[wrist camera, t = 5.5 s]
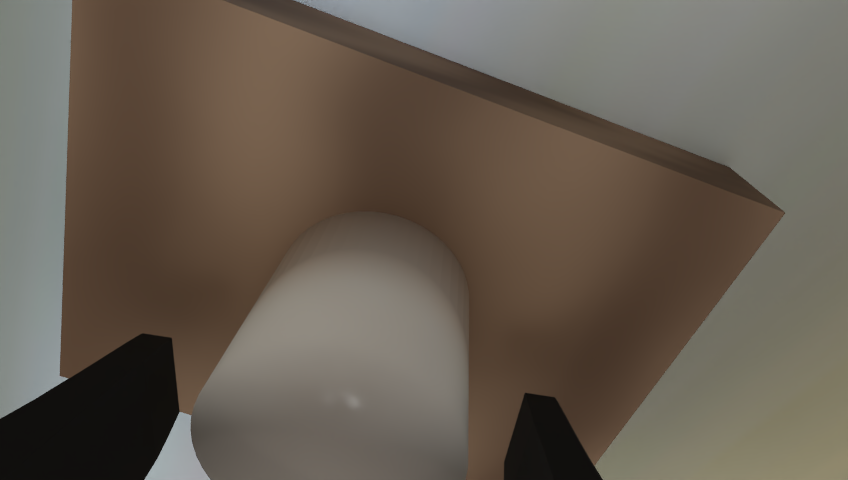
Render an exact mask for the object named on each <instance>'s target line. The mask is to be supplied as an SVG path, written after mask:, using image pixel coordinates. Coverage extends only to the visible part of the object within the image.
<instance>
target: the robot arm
mask: <svg viewBox="0 0 848 480" xmlns="http://www.w3.org/2000/svg"><path fill="white" fill-rule="evenodd" d="M179 412H180V411H179V401H178V392H177V382H176V372H175V363H174V353H173V343H172V338H170V337H164V336H158V335H151V334H145V333H142V334H140V335H138V336H137V337H135V338H133V339H131V340H130V341H128V342H126V343H125V344H123V345H122V346H120V347H118V348H117V349H115V350H114V351H112V352H110V353H109V354H107V355H106V356H104V357H103V358H101V359H99V360H98V361H96V362H95V363H93V364H91V365H90V366H88V367H87V368H85V369H84V370H82V371H80V372H79V373H77V374H75V375H74V376H72V377H71V378H69V379H67V380H66V381H64V382H62V383H61V384H59V385H58V386H56V387H54V388H53V389H51V390H49V391H48V392H46V393H44V394H43V395H41V396H40V397H38V398H36V399H35V400H33V401H31V402H29V403H28V404H26V405H24V406H22V407H20V408H19V409H17V410H15V411H13V412H12V413H10V414H8V415H6V416H5V417H3V418H1V419H0V480H144V479H145V477H146V476H147V474H148V473H149V471H150V469H151V468H152V466H153V465H154V463H155V461H156V460H157V458H158V456H159V454H160V452H161V450H162V448H163V446H164V444H165V442H166V440H167V438H168V436H169V434H170V431H171V429H172V427H173V425H174V423H175V421H176V418H177V416H178V414H179ZM504 480H603V479H602V478H601V476H600V475H599V473H598V471H597V470H596V468H595V466H594V465H593V463H592V461H591V460H590V458H589V456H588V455H587V453H586V451H585V449H584V448H583V446H582V444H581V442H580V441H579V439H578V437H577V435H576V433H575V432H574V430H573V428H572V426H571V424H570V423H569V421H568V419H567V417H566V415H565V413H564V412H563V410H562V408H561V406H560V404H559V402H558V401H557V400H556V398H555V397H550V396H544V395H537V394H531V393H525V394H524V397H523V401H522V404H521V407H520V411H519V414H518V417H517V420H516V424H515V427H514V430H513V434H512V437H511V440H510V444H509V447H508V450H507V454H506V457H505V460H504Z"/></svg>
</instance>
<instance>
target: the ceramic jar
mask: <svg viewBox="0 0 848 480" xmlns="http://www.w3.org/2000/svg"><path fill="white" fill-rule="evenodd" d="M468 407H469V290H468V284H467V280H466V277H465V274H464V272H463V270H462V267H461V265H460V263H459V262H458V260H457V259H456V257H455V256H454V254H453V253H452V252H451V250H450V249H449V248H448V247H447V246H446V245H445V244H444V243H443V242H442V241H441V240H440V239H439V238H438V237H436V236H435V235H434V234H433V233H431V232H430V231H428V230H427V229H425V228H424V227H422V226H420V225H418V224H416V223H414V222H412V221H410V220H407V219H404V218H401V217H399V216H395V215H391V214H386V213H380V212H351V213H344V214H340V215H336V216H332V217H330V218H327V219H325V220H322V221H320V222H318V223H317V224H315V225H313V226H311V227H310V228H308V229H307V230H306V231H305V232H303V233H302V234H301V235H300V236H299V237H298V238H297V239H296V240H295V241H294V242H293V244H292V245H291V247H290V248H289V249H288V251H287V252H286V254H285V256H284V257H283V259H282V261H281V262H280V264H279V265H278V267H277V269H276V270H275V272H274V273H273V275H272V277H271V278H270V280H269V282H268V283H267V285H266V286H265V288H264V290H263V291H262V293H261V295H260V296H259V298H258V299H257V301H256V303H255V304H254V306H253V307H252V309H251V311H250V312H249V314H248V316H247V317H246V319H245V320H244V322H243V324H242V325H241V327H240V329H239V330H238V332H237V333H236V335H235V337H234V338H233V340H232V341H231V343H230V345H229V346H228V348H227V350H226V351H225V353H224V354H223V356H222V358H221V359H220V361H219V363H218V364H217V366H216V367H215V369H214V371H213V372H212V374H211V375H210V377H209V379H208V380H207V382H206V384H205V385H204V387H203V388H202V390H201V392H200V393H199V395H198V398H197V400H196V402H195V404H194V408H193V412H192V416H191V436H192V443H193V446H194V449H195V452H196V456H197V458H198V460H199V462H200V464H201V466H202V468H203V469H204V471H205V472H206V474H207V475H208V477H209V478H210V479H211V480H466V475H467V470H468Z"/></svg>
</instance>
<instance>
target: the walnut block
mask: <svg viewBox="0 0 848 480" xmlns="http://www.w3.org/2000/svg"><path fill="white" fill-rule="evenodd" d="M351 212H380V213H386V214H391V215H395V216H399V217H401V218H404V219H407V220H410V221H412V222H414V223H416V224H418V225H420V226H422V227H424V228H425V229H427V230H428V231H430V232H431V233H433V234H434V235H435V236H436V237H438V238H439V239H440V240H441V241H442V242H443V243H444V244H445V245H446V246H447V247H448V248H449V249H450V250H451V252H452V253H453V254H454V256H455V257H456V259H457V260H458V262H459V263H460V265H461V267H462V270H463V272H464V274H465V277H466V280H467V284H468V290H469V407H468V470H467V475H466V480H504V460H505V457H506V454H507V450H508V447H509V444H510V440H511V437H512V434H513V430H514V427H515V424H516V420H517V417H518V414H519V411H520V407H521V404H522V401H523V397H524V394H525V393H531V394H537V395H544V396H550V397H555V398H556V400H557V401H558V402H559V404H560V406H561V408H562V410H563V412H564V413H565V415H566V417H567V419H568V421H569V423H570V424H571V426H572V428H573V430H574V432H575V433H576V435H577V437H578V439H579V441H580V442H581V444H582V446H583V448H584V449H585V451H586V453H587V455H588V456H589V458H590V460H591V461H592V463H593V465H595V464H596V463H597V461H598V460H599V459H600V457H601V456H602V455H603V453H604V452H605V451H606V449H607V448H608V447H609V445H610V444H611V443H612V441H613V440H614V439H615V437H616V436H617V435H618V434H619V432H620V431H621V430H622V428H623V427H624V426H625V424H626V423H627V422H628V420H629V419H630V418H631V416H632V415H633V414H634V412H635V411H636V410H637V408H638V407H639V406H640V404H641V403H642V402H643V400H644V399H645V398H646V396H647V395H648V394H649V393H650V391H651V390H652V389H653V387H654V386H655V385H656V383H657V382H658V381H659V379H660V378H661V377H662V375H663V374H664V373H665V371H666V370H667V369H668V367H669V366H670V365H671V363H672V362H673V361H674V359H675V358H676V357H677V355H678V354H679V353H680V352H681V350H682V349H683V348H684V346H685V345H686V344H687V342H688V341H689V340H690V338H691V337H692V336H693V334H694V333H695V332H696V330H697V329H698V328H699V326H700V325H701V324H702V322H703V321H704V320H705V318H706V317H707V316H708V314H709V313H710V312H711V311H712V309H713V308H714V307H715V305H716V304H717V303H718V301H719V300H720V299H721V297H722V296H723V295H724V293H725V292H726V291H727V289H728V288H729V287H730V285H731V284H732V283H733V281H734V280H735V279H736V277H737V276H738V275H739V274H740V272H741V271H742V270H743V268H744V267H745V266H746V264H747V263H748V262H749V260H750V259H751V258H752V256H753V255H754V254H755V252H756V251H757V250H758V248H759V247H760V246H761V244H762V243H763V242H764V240H765V239H766V238H767V236H768V235H769V234H770V233H771V231H772V230H773V229H774V227H775V226H776V225H777V223H778V222H779V221H780V219H781V218H782V217H783V215H784V214H785V212H784V211H782V210H781V209H780V208H779V207H778V206H776V205H775V204H774V203H773V202H771V201H770V200H769V199H768V198H766V197H765V196H764V195H763V194H762V193H760V192H759V191H758V190H757V189H755V188H754V187H753V186H752V185H750V184H749V183H748V182H747V181H746V180H744V179H743V178H742V177H741V176H739V175H738V174H737V173H736V172H734V171H733V170H732V169H731V168H729V167H727V166H724V165H721V164H719V163H716V162H714V161H711V160H708V159H706V158H703V157H701V156H698V155H695V154H693V153H690V152H687V151H685V150H682V149H680V148H677V147H674V146H672V145H669V144H667V143H664V142H661V141H659V140H656V139H654V138H651V137H648V136H646V135H643V134H641V133H638V132H635V131H633V130H630V129H627V128H625V127H622V126H620V125H617V124H614V123H612V122H609V121H607V120H604V119H601V118H599V117H596V116H594V115H591V114H588V113H586V112H583V111H581V110H578V109H575V108H573V107H570V106H567V105H565V104H562V103H560V102H557V101H554V100H552V99H549V98H547V97H544V96H541V95H539V94H536V93H534V92H531V91H528V90H526V89H523V88H521V87H518V86H515V85H513V84H510V83H507V82H505V81H502V80H500V79H497V78H494V77H492V76H489V75H487V74H484V73H481V72H479V71H476V70H474V69H471V68H468V67H466V66H463V65H461V64H458V63H455V62H453V61H450V60H447V59H445V58H442V57H440V56H437V55H434V54H432V53H429V52H427V51H424V50H421V49H419V48H416V47H414V46H411V45H408V44H406V43H403V42H401V41H398V40H395V39H393V38H390V37H388V36H385V35H382V34H380V33H377V32H374V31H372V30H369V29H367V28H364V27H361V26H359V25H356V24H354V23H351V22H348V21H346V20H343V19H341V18H338V17H335V16H333V15H330V14H328V13H325V12H322V11H320V10H317V9H314V8H312V7H309V6H307V5H304V4H301V3H299V2H296V1H294V0H72V29H71V59H70V88H69V118H68V148H67V177H66V207H65V237H64V266H63V296H62V326H61V355H60V376H63V377H66V378H71V377H72V376H74V375H75V374H77V373H79V372H80V371H82V370H84V369H85V368H87V367H88V366H90V365H91V364H93V363H95V362H96V361H98V360H99V359H101V358H103V357H104V356H106V355H107V354H109V353H110V352H112V351H114V350H115V349H117V348H118V347H120V346H122V345H123V344H125V343H126V342H128V341H130V340H131V339H133V338H135V337H137V336H138V335H140V334H142V333H145V334H151V335H158V336H164V337H170V338H172V343H173V353H174V363H175V372H176V382H177V392H178V401H179V411H180V412H183V413H186V414H190V415H192V412H193V408H194V404H195V402H196V400H197V398H198V395H199V393H200V392H201V390H202V388H203V387H204V385H205V384H206V382H207V380H208V379H209V377H210V375H211V374H212V372H213V371H214V369H215V367H216V366H217V364H218V363H219V361H220V359H221V358H222V356H223V354H224V353H225V351H226V350H227V348H228V346H229V345H230V343H231V341H232V340H233V338H234V337H235V335H236V333H237V332H238V330H239V329H240V327H241V325H242V324H243V322H244V320H245V319H246V317H247V316H248V314H249V312H250V311H251V309H252V307H253V306H254V304H255V303H256V301H257V299H258V298H259V296H260V295H261V293H262V291H263V290H264V288H265V286H266V285H267V283H268V282H269V280H270V278H271V277H272V275H273V273H274V272H275V270H276V269H277V267H278V265H279V264H280V262H281V261H282V259H283V257H284V256H285V254H286V252H287V251H288V249H289V248H290V247H291V245H292V244H293V242H294V241H295V240H296V239H297V238H298V237H299V236H300V235H301V234H302V233H303V232H305V231H306V230H307V229H308V228H310V227H311V226H313V225H315V224H317V223H318V222H320V221H322V220H325V219H327V218H330V217H332V216H336V215H340V214H344V213H351Z"/></svg>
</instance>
